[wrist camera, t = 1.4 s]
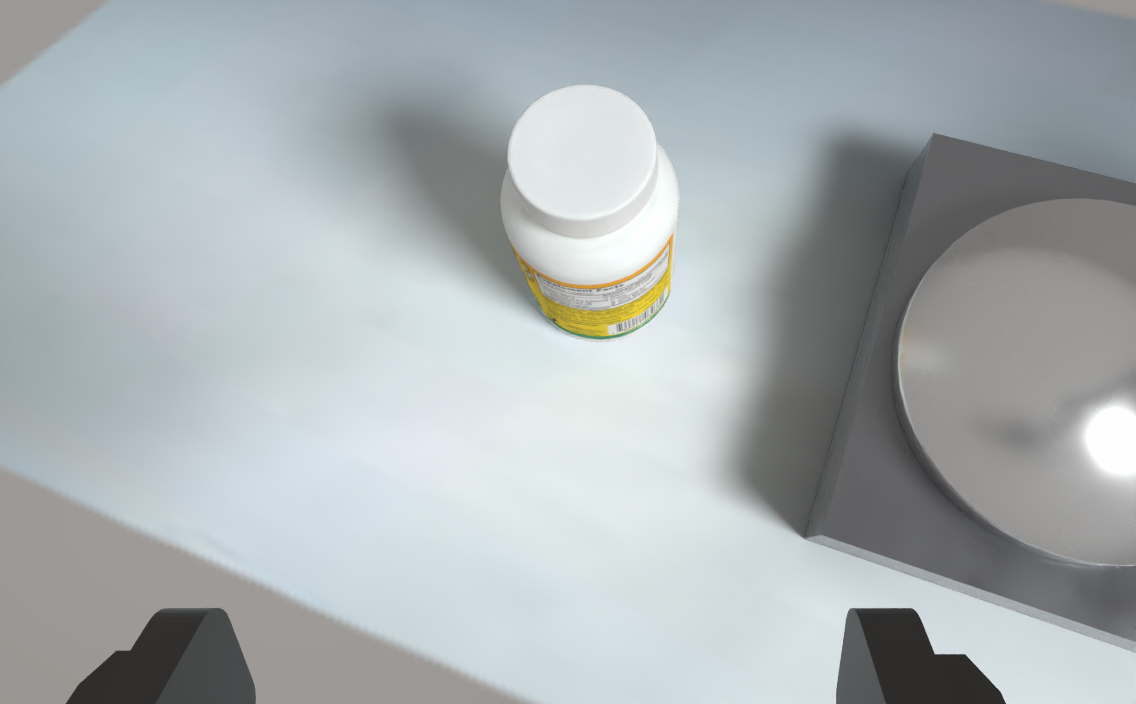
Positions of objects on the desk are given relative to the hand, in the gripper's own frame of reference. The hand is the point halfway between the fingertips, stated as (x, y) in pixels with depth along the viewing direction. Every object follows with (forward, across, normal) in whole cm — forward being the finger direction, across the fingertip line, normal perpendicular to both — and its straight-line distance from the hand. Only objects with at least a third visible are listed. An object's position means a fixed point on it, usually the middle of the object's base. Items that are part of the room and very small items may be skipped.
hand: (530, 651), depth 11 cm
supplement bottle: (+21, 0, +4) cm, 22 cm away
